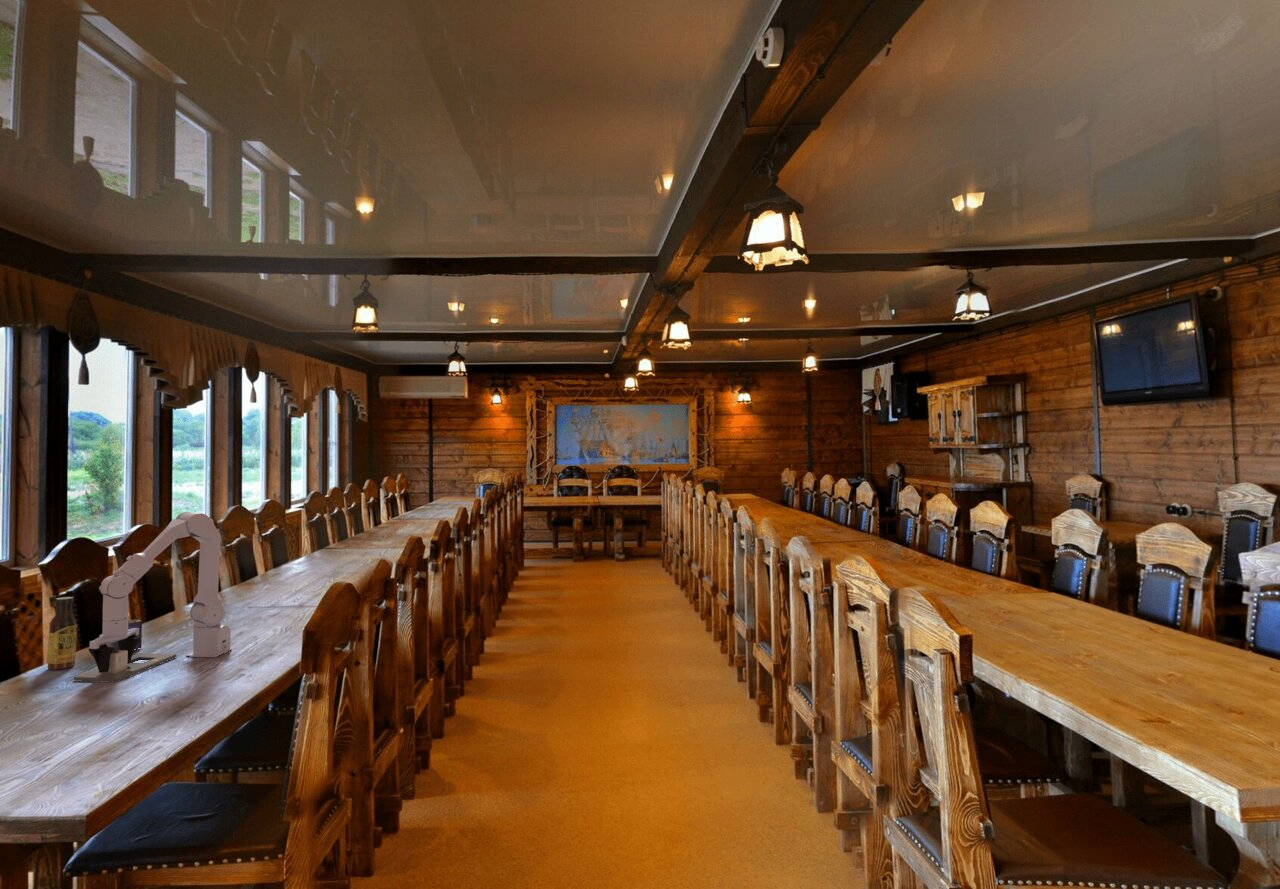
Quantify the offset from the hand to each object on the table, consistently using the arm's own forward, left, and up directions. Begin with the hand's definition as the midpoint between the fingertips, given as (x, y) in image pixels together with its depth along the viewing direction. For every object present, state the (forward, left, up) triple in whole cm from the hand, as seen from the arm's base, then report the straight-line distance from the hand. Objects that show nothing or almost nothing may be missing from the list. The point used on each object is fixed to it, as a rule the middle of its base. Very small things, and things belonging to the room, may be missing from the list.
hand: (114, 667), depth 192 cm
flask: (+15, -21, -2) cm, 25 cm away
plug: (0, 0, -2) cm, 2 cm away
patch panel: (0, -5, -2) cm, 5 cm away
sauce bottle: (+20, -5, -2) cm, 21 cm away
